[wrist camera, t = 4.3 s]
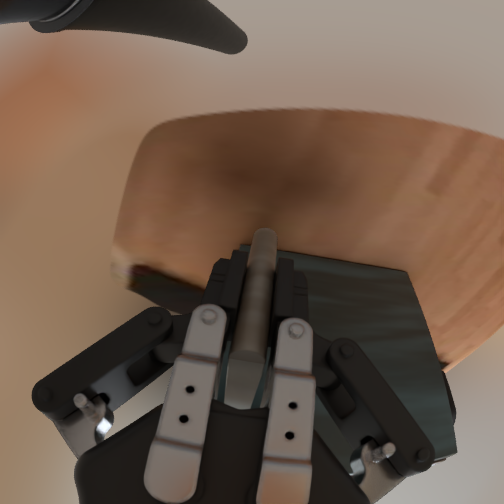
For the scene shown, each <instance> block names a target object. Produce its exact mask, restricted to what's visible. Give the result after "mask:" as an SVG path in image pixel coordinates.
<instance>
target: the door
mask: <svg viewBox="0 0 504 504" xmlns="http://www.w3.org/2000/svg"><path fill="white" fill-rule="evenodd" d="M277 240H278V237H277V234H276V233H275V232H274V231H273V230H272V229H269V228H260V229H258V230H257V231H256V232H255V233H254V235H253V240H252V245H251V246H248V245H242V244H241V245H240V248H239V250H240V251H246V252H248V260H247V268H246V273H245V278H244V283H243V288H242V293H241V297H240V302H239V307H238V312H237V317H236V322H235V326H234V331H233V336H232V341H227V346H226V350H225V353H224V358H223V364H222V370H221V376H220V382H219V388H218V396H217V400H218V401H220V402H222V403H225V404H227V405H229V406H232V407H234V408H237V409H253V408H260V405H261V401H262V397H263V391H264V385H265V378H266V372H267V365H268V360H269V357H270V351H271V348H269V347H268V340H269V330H270V320H271V309H272V299H273V288H274V276H275V270H276V265H277V261H278V257H283V258H289V259H294V270H296V271H302V272H303V273H304V275H305V276H306V278H307V282H308V309H309V324H310V326H311V328H312V330H313V331H314V332H315V333H316V334H317V335H319V336H321V337H323V338H325V339H327V340H330V341H332V342H333V341H334V340H336V339H338V338H349V339H351V340H353V341H355V342H356V343H357V344H358V345H359V346H360V348H361V349H362V350H363V352H364V353H365V354H366V355H367V357H368V358H369V359H370V361H371V362H372V363H373V365H374V366H375V367H376V369H377V370H378V371H379V372H380V374H381V375H382V376H383V378H384V379H385V380H386V382H387V383H388V384H389V386H390V387H391V388H392V390H393V391H394V392H395V394H396V395H397V396H398V398H399V399H400V401H401V402H402V403H403V405H404V406H405V407H406V409H407V410H408V411H409V413H410V414H411V415H412V417H413V418H414V420H415V421H416V422H417V424H418V425H419V427H420V428H421V429H422V431H423V432H424V433H425V435H426V436H427V438H428V439H429V440H430V442H431V443H432V445H433V446H434V449H435V460H434V461H436V460H440V459H444V458H447V457H450V456H452V455H454V454H456V453H457V446H456V438H455V432H454V426H453V420H452V415H451V410H450V405H449V400H448V396H447V391H446V387H445V383H444V379H443V375H442V371H441V368H440V364H439V361H438V357H437V354H436V350H435V347H434V344H433V341H432V338H431V335H430V332H429V329H428V326H427V323H426V320H425V317H424V314H423V312H422V309H421V306H420V304H419V301H418V298H417V296H416V293H415V291H414V288H413V286H412V283H411V281H410V279H409V276H408V274H407V272H402V271H396V270H391V269H385V268H379V267H373V266H367V265H361V264H356V263H350V262H344V261H338V260H332V259H326V258H320V257H314V256H308V255H302V254H296V253H290V252H284V251H278V250H277ZM313 428H314V429H315V430H316V431H317V433H318V434H319V435H320V437H321V438H322V439H323V441H324V442H325V443H326V445H327V446H328V447H329V449H330V450H331V451H332V452H333V454H334V455H335V456H336V458H337V459H338V460H339V462H340V463H341V464H342V465H343V467H344V468H345V469H346V470H347V472H348V473H349V474H350V475H353V470H352V468H351V465H350V457H351V454H352V453H353V449H352V448H351V446H350V445H349V443H348V442H347V440H346V439H345V437H344V436H343V434H342V433H341V431H340V430H339V428H338V427H337V425H336V424H335V422H334V421H333V419H332V417H331V416H330V414H329V413H328V411H327V410H326V408H325V407H324V405H323V404H322V402H321V401H320V399H319V397H318V396H317V394H316V393H315V409H314V424H313Z"/></svg>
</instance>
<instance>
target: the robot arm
mask: <svg viewBox="0 0 504 504" xmlns="http://www.w3.org/2000/svg"><path fill="white" fill-rule="evenodd" d="M81 1H82V0H0V24H6V23H16V22H29V21H41V22H49V21H54V20H57V19H59V18H61V17H63V16H64V15H66V14H67V13H69V12H70V11H71V10H72V9H74V8H75V7H76V6H77V5H78V4H79V3H80V2H81ZM247 260H248V252H246V251H240V250H233V252H232V256H231V259H230V260H229V259H223V258H220V259H219V260H218V261H217V262H216V263H215V264H214V266H213V269H212V272H211V275H210V278H209V281H208V284H207V286H206V289H205V292H204V295H203V298H202V301H201V304H200V306H198V307H197V308H196V309H195V310H194V311H193V312H192V313H189V314H185V315H174V316H173V315H172V316H171V314H170V313H169V311H168V310H166V309H164V308H162V307H150V308H147V309H146V310H144V311H142V312H141V313H139V314H138V315H136V316H135V317H133V318H132V319H130V320H129V321H127V322H126V323H124V324H123V325H121V326H120V327H118V328H117V329H115V330H114V331H112V332H111V333H109V334H108V335H106V336H105V337H103V338H102V339H100V340H99V341H97V342H96V343H94V344H93V345H91V346H90V347H88V348H87V349H85V350H84V351H82V352H81V353H80V354H78V355H77V356H75V357H74V358H72V359H71V360H69V361H68V362H66V363H65V364H63V365H62V366H60V367H59V368H57V369H56V370H54V371H53V372H52V373H50V374H49V375H47V376H46V377H44V378H43V379H41V380H40V381H38V382H37V383H36V384H35V386H34V388H33V390H32V401H33V404H34V405H35V407H36V408H37V409H38V410H39V411H41V412H42V413H43V414H45V415H46V416H47V417H48V418H49V419H50V420H52V421H53V422H54V424H55V426H56V427H57V429H58V431H59V432H60V434H61V436H62V437H63V439H64V440H65V442H66V443H67V445H68V446H69V448H70V449H71V451H72V452H73V453H74V455H75V456H76V457H77V459H78V461H77V463H76V465H75V469H74V479H75V484H76V487H77V491H78V496H79V504H374V503H375V502H377V501H378V500H379V499H381V498H382V497H383V496H385V495H386V494H387V493H388V492H390V491H391V490H392V489H393V488H394V487H396V486H397V485H398V484H399V483H400V482H402V481H403V480H404V479H405V478H406V477H409V476H412V475H415V474H418V473H421V472H424V471H426V470H428V469H429V468H430V467H431V466H432V464H433V462H434V460H435V449H434V446H433V445H432V443H431V442H430V440H429V439H428V438H427V436H426V435H425V433H424V432H423V431H422V429H421V428H420V427H419V425H418V424H417V422H416V421H415V420H414V418H413V417H412V415H411V414H410V413H409V411H408V410H407V409H406V407H405V406H404V405H403V403H402V402H401V401H400V399H399V398H398V396H397V395H396V394H395V392H394V391H393V390H392V388H391V387H390V386H389V384H388V383H387V382H386V380H385V379H384V378H383V376H382V375H381V374H380V372H379V371H378V370H377V369H376V367H375V366H374V365H373V363H372V362H371V361H370V359H369V358H368V357H367V355H366V354H365V353H364V352H363V350H362V349H361V348H360V346H359V345H358V344H357V343H356V342H355V341H353V340H351V339H349V338H338V339H336V340H334V341H333V342H332V341H330V340H327V339H325V338H323V337H321V336H319V335H317V334H316V333H315V332H314V331H313V330H312V328H311V326H310V324H309V309H308V282H307V278H306V276H305V275H304V273H303V272H302V271H296V270H294V259H289V258H283V257H278V261H277V265H276V270H275V276H274V288H273V299H272V309H271V320H270V330H269V340H268V347H269V348H271V351H270V357H269V360H268V365H267V372H266V378H265V385H264V391H263V397H262V401H261V405H260V408H253V409H237V408H234V407H232V406H229V405H227V404H225V403H222V402H220V401H218V400H217V396H218V388H219V382H220V376H221V370H222V364H223V358H224V353H225V350H226V346H227V341H232V336H233V331H234V326H235V322H236V317H237V312H238V307H239V302H240V297H241V293H242V288H243V283H244V278H245V273H246V268H247ZM173 365H174V366H173ZM172 366H173V370H172V373H171V377H170V381H169V385H168V388H167V392H166V396H165V400H164V403H163V404H161V405H159V406H157V407H155V408H154V409H152V410H151V411H150V412H148V413H146V414H145V415H143V416H142V417H140V418H139V419H137V420H136V421H134V422H133V423H131V424H130V425H128V426H126V427H125V428H123V429H122V430H120V431H119V432H117V433H115V434H114V435H112V436H111V437H109V438H107V439H106V440H104V437H105V434H106V432H107V431H108V430H109V429H110V428H111V427H112V425H113V422H114V415H113V411H115V410H116V409H117V408H118V407H120V406H121V405H123V404H124V403H125V402H127V401H128V400H129V399H130V398H132V397H133V396H135V395H136V394H137V393H138V392H140V391H141V390H142V389H144V388H145V387H146V386H148V385H149V384H150V383H151V382H153V381H154V380H155V379H156V378H158V377H159V376H160V375H162V374H163V373H164V372H165V371H167V370H168V369H169V368H170V367H172ZM315 393H316V394H317V396H318V397H319V399H320V401H321V402H322V404H323V405H324V407H325V408H326V410H327V411H328V413H329V414H330V416H331V417H332V419H333V421H334V422H335V424H336V425H337V427H338V428H339V430H340V431H341V433H342V434H343V436H344V437H345V439H346V440H347V442H348V443H349V445H350V446H351V448H352V449H353V453H352V454H351V457H350V465H351V468H352V470H353V478H352V477H351V475H350V474H349V473H348V472H347V470H346V469H345V468H344V467H343V465H342V464H341V463H340V462H339V460H338V459H337V458H336V456H335V455H334V454H333V452H332V451H331V450H330V449H329V447H328V446H327V445H326V443H325V442H324V441H323V439H322V438H321V437H320V435H319V434H318V433H317V431H316V430H315V429H314V428H313V424H314V409H315Z"/></svg>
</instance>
